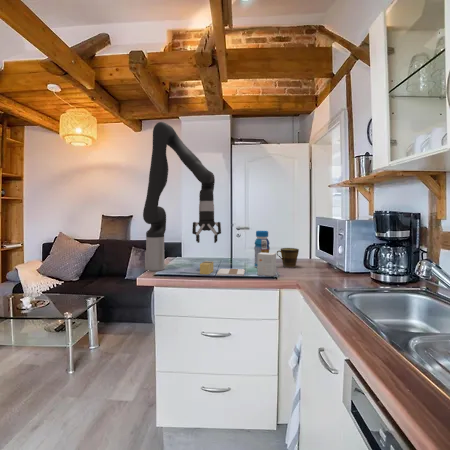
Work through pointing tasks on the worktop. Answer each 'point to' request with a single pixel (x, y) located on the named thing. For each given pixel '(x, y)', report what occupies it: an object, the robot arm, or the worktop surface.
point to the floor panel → (231, 272)
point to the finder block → (206, 267)
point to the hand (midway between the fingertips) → (206, 242)
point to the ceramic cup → (289, 257)
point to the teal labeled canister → (261, 244)
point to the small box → (266, 264)
